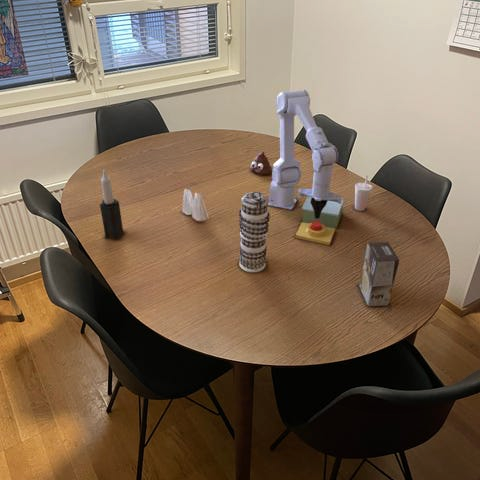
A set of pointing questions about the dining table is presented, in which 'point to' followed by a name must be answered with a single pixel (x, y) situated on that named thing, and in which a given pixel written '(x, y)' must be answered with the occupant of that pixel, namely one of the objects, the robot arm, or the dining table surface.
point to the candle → (110, 211)
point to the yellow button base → (315, 234)
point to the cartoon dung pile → (261, 165)
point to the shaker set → (194, 206)
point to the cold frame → (322, 218)
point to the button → (316, 226)
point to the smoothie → (362, 195)
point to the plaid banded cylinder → (253, 231)
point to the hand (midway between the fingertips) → (317, 217)
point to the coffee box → (378, 273)
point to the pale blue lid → (329, 208)
